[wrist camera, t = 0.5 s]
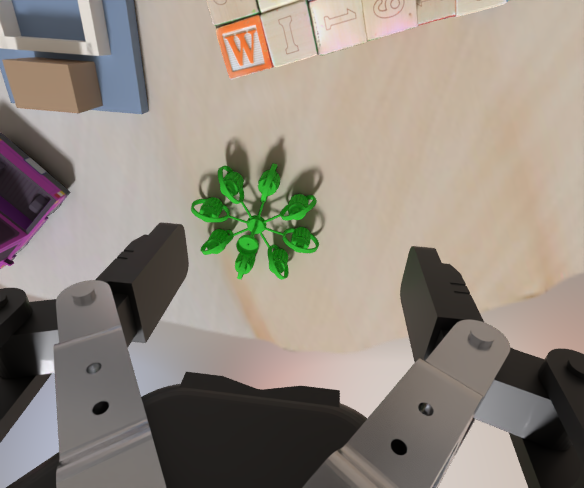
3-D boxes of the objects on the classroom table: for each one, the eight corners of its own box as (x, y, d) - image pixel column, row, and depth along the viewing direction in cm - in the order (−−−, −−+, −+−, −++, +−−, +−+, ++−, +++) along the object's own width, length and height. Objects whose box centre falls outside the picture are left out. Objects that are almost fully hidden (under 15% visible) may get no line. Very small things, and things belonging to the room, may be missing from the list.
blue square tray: (-38, -100, 31) (-106, -124, 26) (121, -92, 30) (80, -115, 25) (21, 100, 39) (-22, 110, 34) (148, 111, 38) (121, 122, 33)
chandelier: (342, 181, 40) (343, 207, 34) (299, 284, 48) (294, 320, 42) (210, 135, 39) (188, 154, 33) (188, 248, 47) (166, 279, 41)
